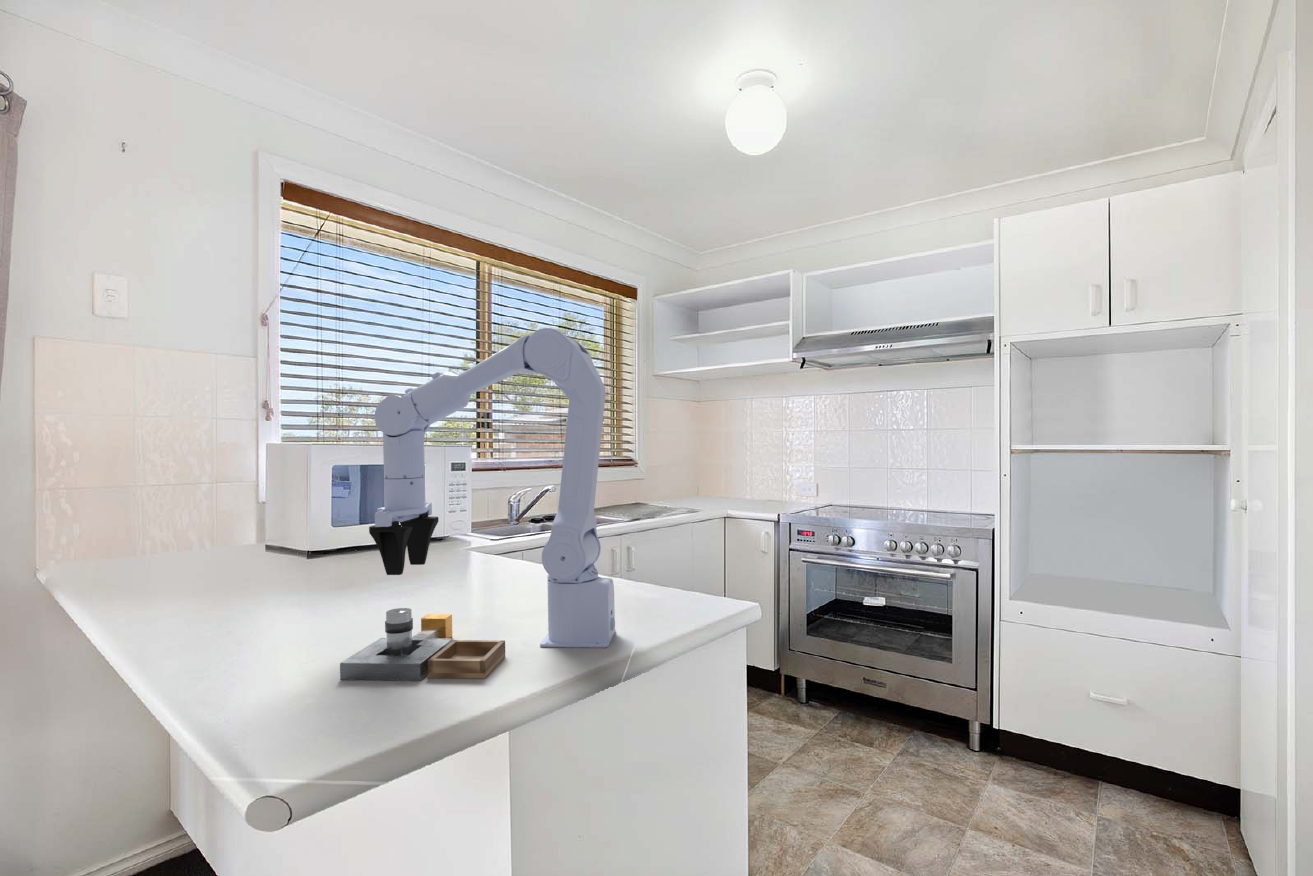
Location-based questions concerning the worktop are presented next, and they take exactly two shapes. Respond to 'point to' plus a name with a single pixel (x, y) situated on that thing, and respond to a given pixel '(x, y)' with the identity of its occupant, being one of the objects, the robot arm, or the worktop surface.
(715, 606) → the worktop surface
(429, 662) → the square wooden tray
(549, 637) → the robot arm
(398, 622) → the silver metal canister
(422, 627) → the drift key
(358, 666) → the socket
